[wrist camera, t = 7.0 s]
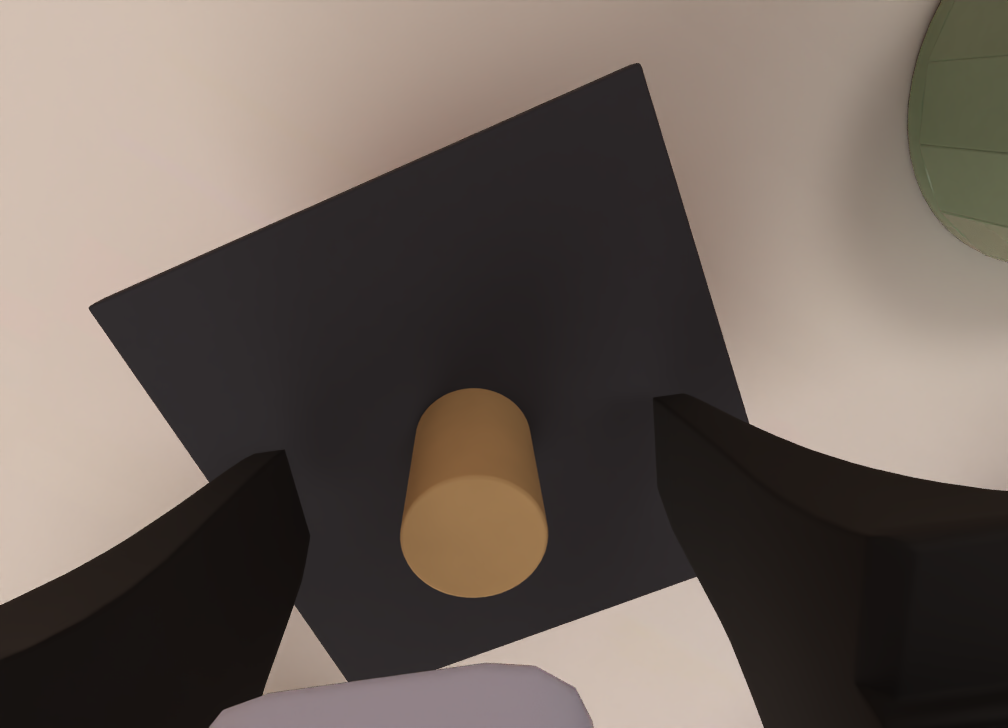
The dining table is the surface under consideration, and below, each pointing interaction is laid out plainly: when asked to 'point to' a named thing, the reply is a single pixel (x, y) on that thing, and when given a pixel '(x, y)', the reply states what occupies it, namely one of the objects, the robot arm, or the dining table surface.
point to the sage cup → (964, 122)
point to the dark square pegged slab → (455, 378)
